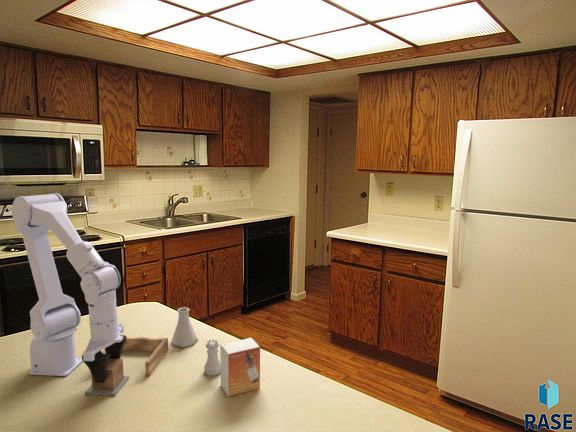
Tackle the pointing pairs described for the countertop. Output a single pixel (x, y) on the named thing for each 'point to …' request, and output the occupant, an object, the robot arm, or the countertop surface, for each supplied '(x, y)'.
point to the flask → (184, 330)
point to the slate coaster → (107, 392)
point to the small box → (240, 366)
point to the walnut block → (111, 375)
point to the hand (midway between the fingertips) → (107, 374)
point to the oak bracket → (148, 349)
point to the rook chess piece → (212, 359)
